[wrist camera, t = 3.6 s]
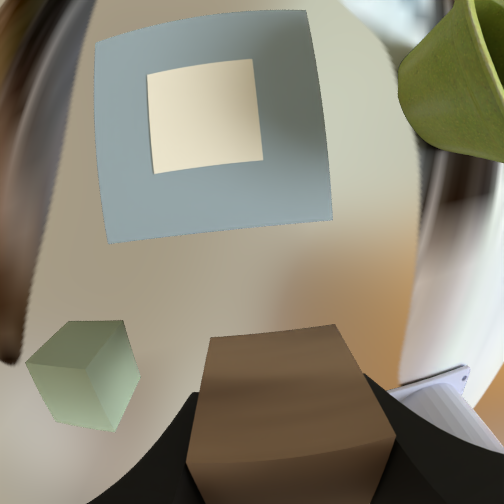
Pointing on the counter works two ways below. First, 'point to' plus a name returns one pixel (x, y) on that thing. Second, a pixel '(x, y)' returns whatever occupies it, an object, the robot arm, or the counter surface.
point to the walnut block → (287, 422)
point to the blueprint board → (210, 126)
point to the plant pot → (459, 81)
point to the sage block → (86, 373)
